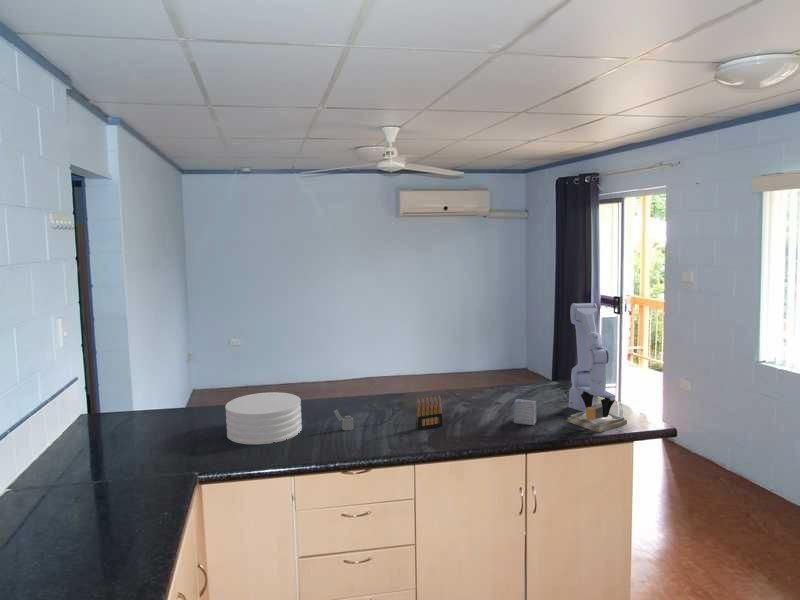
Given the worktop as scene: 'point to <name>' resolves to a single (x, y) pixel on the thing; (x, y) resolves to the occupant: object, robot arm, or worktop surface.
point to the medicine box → (525, 411)
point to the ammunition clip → (428, 414)
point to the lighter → (345, 421)
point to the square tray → (597, 427)
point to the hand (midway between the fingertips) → (597, 414)
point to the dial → (596, 414)
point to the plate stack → (263, 418)
